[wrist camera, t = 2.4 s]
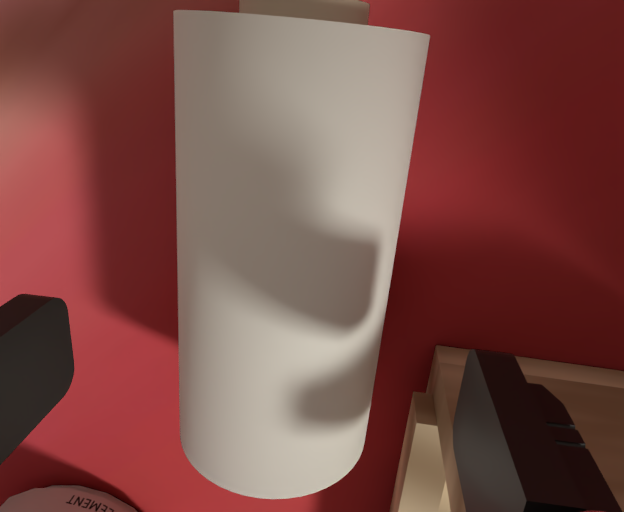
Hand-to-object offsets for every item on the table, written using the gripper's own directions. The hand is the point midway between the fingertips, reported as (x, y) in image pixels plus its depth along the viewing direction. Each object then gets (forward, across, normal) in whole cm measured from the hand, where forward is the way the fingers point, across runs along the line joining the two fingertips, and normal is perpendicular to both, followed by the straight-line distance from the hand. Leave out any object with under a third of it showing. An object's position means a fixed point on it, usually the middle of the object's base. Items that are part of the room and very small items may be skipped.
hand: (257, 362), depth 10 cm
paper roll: (+6, 0, -1) cm, 7 cm away
